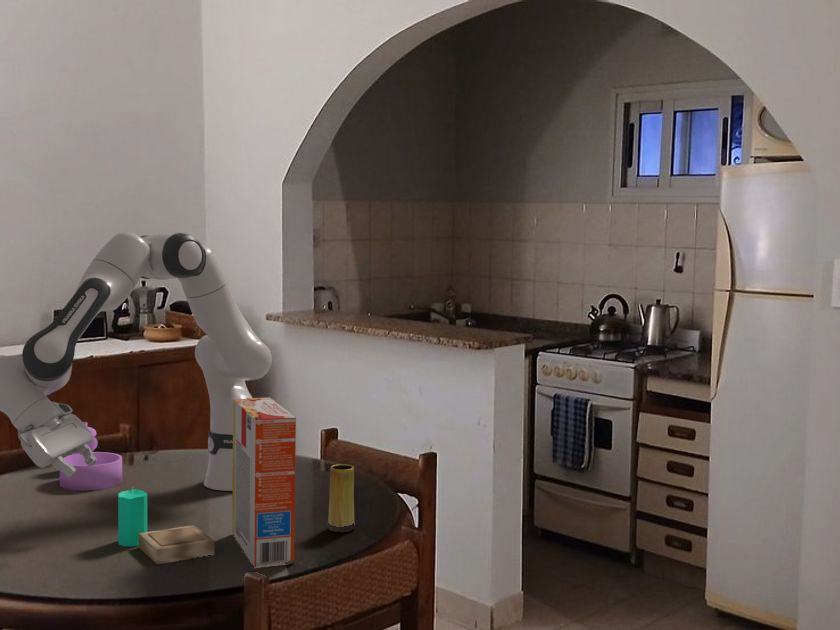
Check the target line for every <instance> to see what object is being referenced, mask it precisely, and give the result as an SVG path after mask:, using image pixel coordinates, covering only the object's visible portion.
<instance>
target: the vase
mask: <svg viewBox="0 0 840 630" xmlns="http://www.w3.org/2000/svg"><path fill="white" fill-rule="evenodd" d="M329 475H330V476H329V499H328V500H329V501H328V503H329V504H328V516H327V517H328V518H327V519H328V521H327V524H328V523H329V524H330V525H332V526H336V527H344V526H349V525H352V524H353V523H354V524H355V503H354V502H355V501H354V500H355V499H354V498H355V497H354V495H355V494H354V493H355V492H354V491H355V489H354V488H355V467H354V465H352V464H347V463H346V464H345V463H344V464H342V463H341V464H338V463H337V464H333V465H331V466H330V474H329Z"/></svg>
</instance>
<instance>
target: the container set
mask: <svg viewBox="0 0 840 630" xmlns="http://www.w3.org/2000/svg"><path fill="white" fill-rule="evenodd" d="M82 422H83V423H84V425H85V426H86V427H87V428H88V429H89V431H90V432H91V433H92V436H93V440H92V441H91V442H90V443H89V444H88V446H89V447H90V448H91V451H92V454H93V456H94V457H95V458H96V459H97V462H96V463H95V464H94V465H92V466H88V465H87V464H86V463H85V462H84V461H85V458H84V457H83V455H82V454H80V453H79V452H78V451H77V452H75V453H73V454H71V455H69V456H67V457H65V458H63V459H64V460H63V461H65V462H66V463H67V464H69V465H70V466H71V465H73V466H74V468H75V469H76V470H77V472H76V473H75V474H74V475H73V476H71V477H67V476H66V475H65V474H64V473H63V472H61V471H60V470H59V486H60V487H61V488H62V489H65V490H68V489H69V490H70V491H76V490H87V492H89V491H88V490H93V491H101V490H100V489H102V490H106V489H105V488H108V489H111V488H110V487H112V488H114V487H113V486H115V487H117V486H116V485H118V484H120V483H121V482H122V483H123V456H122V455H120V454H118V453H112V452H106V451H105V452H100V451H94V450H95V449H96V448H97V447H98V439H97V438H96V435H97V431H96V429H94V428H93V427H90V426H88V422H87V421H82ZM122 483H121V484H122ZM121 484H120V485H121ZM118 486H119V485H118ZM69 490H68V491H69Z"/></svg>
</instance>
